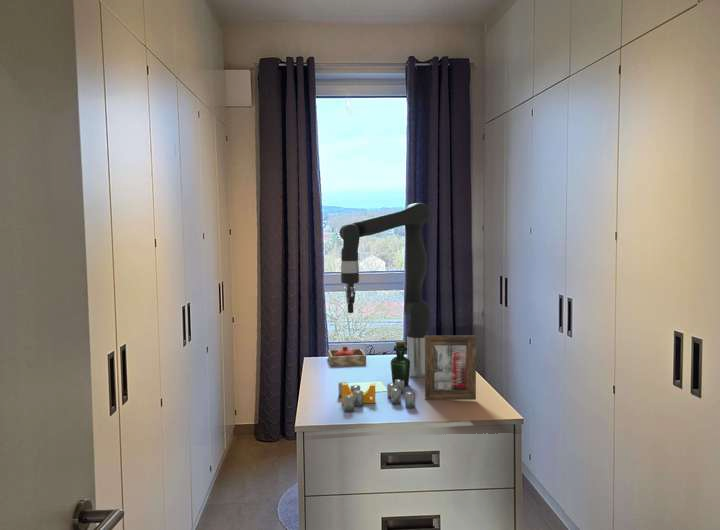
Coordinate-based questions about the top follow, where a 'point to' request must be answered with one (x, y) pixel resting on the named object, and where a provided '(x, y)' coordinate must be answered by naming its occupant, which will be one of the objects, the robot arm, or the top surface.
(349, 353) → the butter dish
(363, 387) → the pad
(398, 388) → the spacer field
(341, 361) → the frame
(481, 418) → the top surface
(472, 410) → the top surface
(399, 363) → the potion bottle
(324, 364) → the top surface
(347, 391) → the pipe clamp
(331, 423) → the top surface
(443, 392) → the picture frame
